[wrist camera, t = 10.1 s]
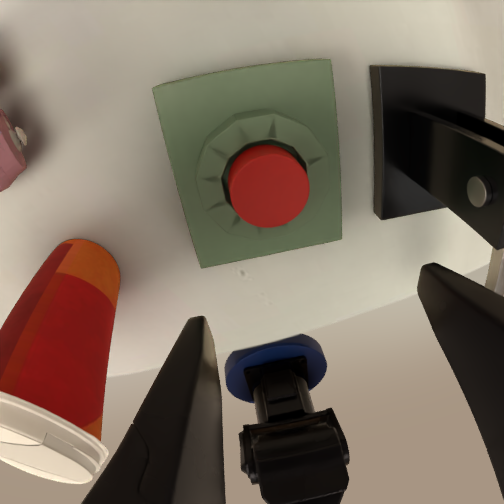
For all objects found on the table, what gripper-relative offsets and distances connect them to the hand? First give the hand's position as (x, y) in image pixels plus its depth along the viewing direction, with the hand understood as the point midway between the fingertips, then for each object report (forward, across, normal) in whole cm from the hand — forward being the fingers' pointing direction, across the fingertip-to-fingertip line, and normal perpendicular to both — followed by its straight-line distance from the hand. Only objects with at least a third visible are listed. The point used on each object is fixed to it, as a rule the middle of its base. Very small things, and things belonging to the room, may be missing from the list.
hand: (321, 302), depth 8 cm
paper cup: (+12, +13, +5) cm, 19 cm away
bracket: (+12, -12, 0) cm, 17 cm away
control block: (+12, 0, 0) cm, 12 cm away
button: (+9, 0, 0) cm, 9 cm away
